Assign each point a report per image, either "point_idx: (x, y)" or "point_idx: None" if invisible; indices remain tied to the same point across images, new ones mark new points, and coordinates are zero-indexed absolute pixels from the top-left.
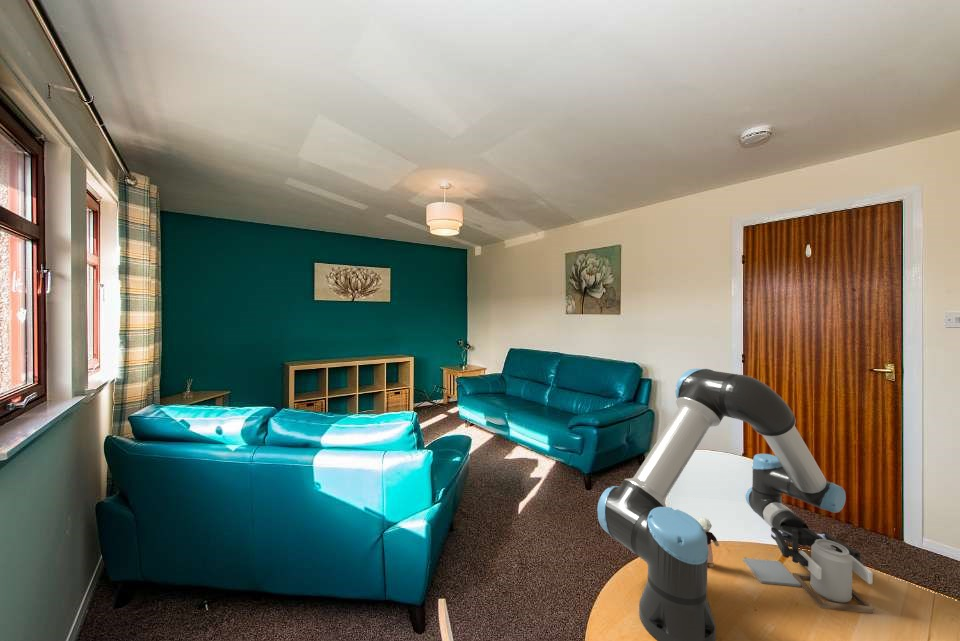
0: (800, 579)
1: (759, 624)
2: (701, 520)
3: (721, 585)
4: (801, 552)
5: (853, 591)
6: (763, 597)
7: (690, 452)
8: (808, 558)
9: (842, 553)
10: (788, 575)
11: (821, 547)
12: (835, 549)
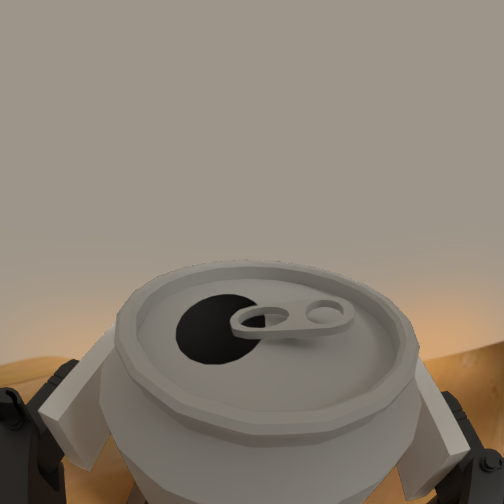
0: None
1: (482, 360)
2: None
3: None
4: (460, 436)
5: (136, 489)
6: (486, 433)
7: None
8: (431, 382)
9: (227, 290)
10: None
11: (382, 298)
12: (248, 310)
